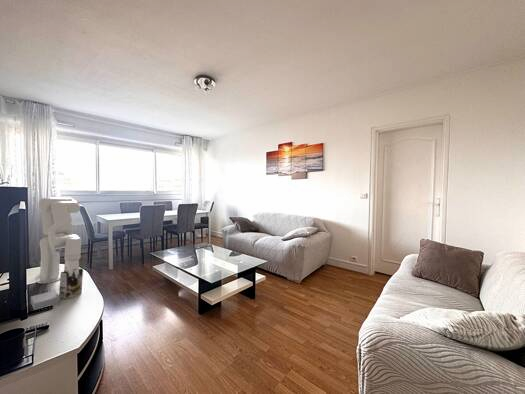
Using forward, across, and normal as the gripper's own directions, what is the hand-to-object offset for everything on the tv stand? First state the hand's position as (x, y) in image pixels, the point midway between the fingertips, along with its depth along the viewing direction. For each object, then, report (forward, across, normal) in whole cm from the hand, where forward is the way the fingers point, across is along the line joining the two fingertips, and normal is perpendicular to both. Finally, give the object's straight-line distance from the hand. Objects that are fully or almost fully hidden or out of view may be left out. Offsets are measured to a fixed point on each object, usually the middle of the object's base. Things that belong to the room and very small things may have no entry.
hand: (71, 283), depth 131 cm
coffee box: (+8, 0, 0) cm, 8 cm away
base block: (+8, +2, -12) cm, 14 cm away
